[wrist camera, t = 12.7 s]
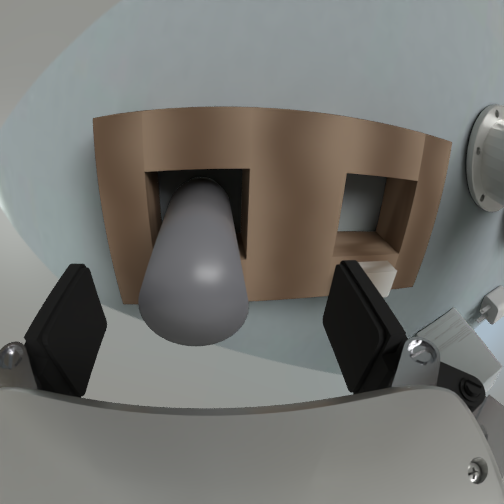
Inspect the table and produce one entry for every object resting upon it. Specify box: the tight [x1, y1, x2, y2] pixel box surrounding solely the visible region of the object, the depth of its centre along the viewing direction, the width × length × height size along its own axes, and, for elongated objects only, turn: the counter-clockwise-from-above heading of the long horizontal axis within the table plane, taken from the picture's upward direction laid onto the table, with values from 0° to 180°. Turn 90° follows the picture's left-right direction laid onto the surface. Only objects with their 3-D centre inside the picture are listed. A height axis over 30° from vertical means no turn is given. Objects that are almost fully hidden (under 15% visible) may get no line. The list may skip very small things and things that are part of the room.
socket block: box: [93, 107, 452, 304], centre depth 19 cm, size 24×13×6 cm, turn 88°
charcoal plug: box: [138, 177, 249, 346], centre depth 15 cm, size 4×4×12 cm
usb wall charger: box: [477, 286, 504, 324], centre depth 32 cm, size 4×7×4 cm, turn 107°
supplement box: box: [417, 308, 502, 393], centre depth 29 cm, size 7×7×13 cm
